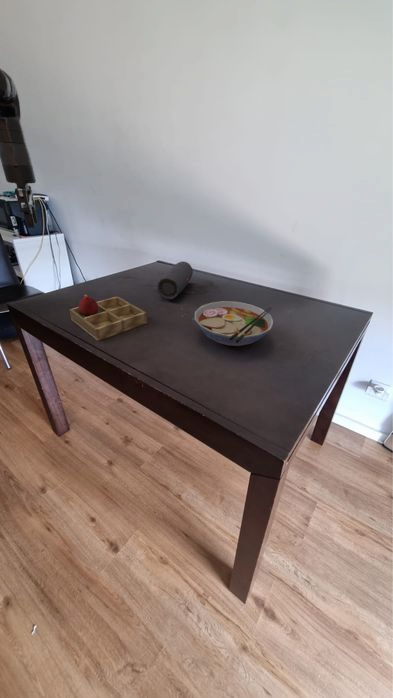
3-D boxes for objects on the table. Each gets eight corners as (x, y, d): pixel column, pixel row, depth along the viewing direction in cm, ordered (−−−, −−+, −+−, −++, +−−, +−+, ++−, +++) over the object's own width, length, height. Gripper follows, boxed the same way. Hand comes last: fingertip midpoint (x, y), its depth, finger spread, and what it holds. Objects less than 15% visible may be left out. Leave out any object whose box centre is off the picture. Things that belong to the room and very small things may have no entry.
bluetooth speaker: (180, 304, 106) (180, 278, 100) (156, 301, 107) (155, 275, 102) (193, 284, 125) (194, 261, 119) (173, 281, 126) (173, 258, 121)
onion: (98, 313, 95) (94, 290, 90) (101, 320, 90) (97, 296, 86) (79, 315, 92) (75, 292, 88) (82, 323, 88) (77, 299, 84)
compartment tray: (97, 341, 82) (95, 329, 80) (71, 320, 92) (69, 309, 90) (147, 323, 92) (146, 312, 90) (118, 306, 102) (117, 296, 100)
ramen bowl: (219, 314, 100) (221, 292, 96) (281, 334, 89) (287, 310, 85) (175, 343, 82) (175, 317, 78) (245, 372, 72) (250, 345, 67)
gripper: (6, 162, 84) (22, 221, 93) (-4, 162, 73) (15, 229, 82) (34, 163, 86) (47, 221, 95) (28, 164, 75) (44, 229, 84)
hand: (32, 225), depth 88 cm, fingers open, 8 cm apart
